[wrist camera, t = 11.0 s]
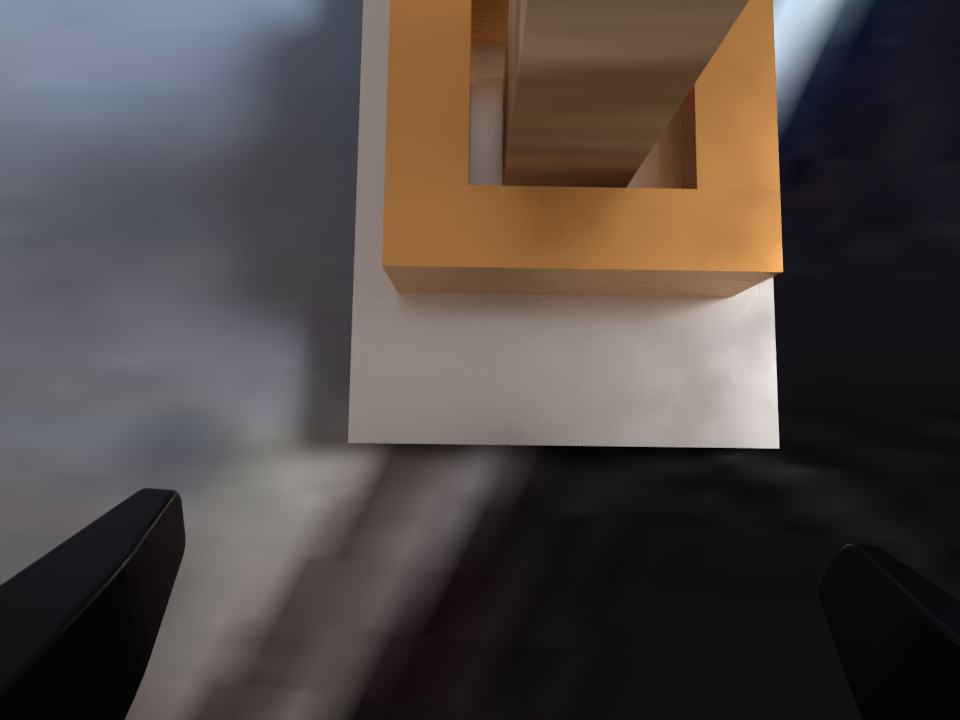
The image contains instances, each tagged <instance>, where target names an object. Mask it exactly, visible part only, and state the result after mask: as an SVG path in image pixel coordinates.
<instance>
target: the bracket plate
mask: <svg viewBox="0 0 960 720" xmlns="http://www.w3.org/2000/svg"><path fill="white" fill-rule="evenodd" d="M509 1H510V0H363V21H362V50H361V79H360V108H359V136H358V165H357V194H356V223H355V252H354V281H353V310H352V339H351V368H350V396H349V425H348V443H390V444H469V445H549V446H628V447H707V448H779V426H778V399H777V371H776V344H775V317H774V289H773V277H774V276H776V275H778V274H780V273H782V272H783V257H782V231H781V205H780V179H779V153H778V126H777V100H776V74H775V48H774V22H773V0H749V2H748V3H747V5H746V6H745V8H744V9H743V11H742V12H741V14H740V15H739V17H738V18H737V20H736V21H735V23H734V24H733V26H732V28H731V29H730V31H729V32H728V34H727V35H726V37H725V38H724V40H723V41H722V43H721V44H720V46H719V47H718V49H717V50H716V52H715V53H714V55H713V56H712V58H711V60H710V61H709V63H708V64H707V66H706V67H705V69H704V70H703V72H702V73H701V75H700V76H699V78H698V79H697V81H696V82H695V84H694V85H693V87H692V88H691V90H690V91H689V93H688V95H687V96H686V98H685V99H684V101H683V102H682V104H681V105H680V107H679V108H678V110H677V111H676V113H675V114H674V116H673V117H672V119H671V120H670V122H669V123H668V125H667V127H666V128H665V130H664V131H663V133H662V134H661V136H660V137H659V139H658V140H657V142H656V143H655V145H654V146H653V148H652V149H651V151H650V152H649V154H648V155H647V157H646V159H645V160H644V162H643V163H642V165H641V166H640V168H639V169H638V171H637V172H636V174H635V175H634V177H633V178H632V180H631V181H630V183H629V184H628V186H627V187H626V188H606V187H549V186H502V140H503V68H504V56H505V45H506V34H507V23H508V12H509Z"/></svg>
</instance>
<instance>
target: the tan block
mask: <svg viewBox="0 0 960 720" xmlns="http://www.w3.org/2000/svg"><path fill="white" fill-rule="evenodd" d="M748 2H749V0H510V1H509V12H508V23H507V34H506V45H505V56H504V68H503V140H502V186H549V187H606V188H626V187H627V186H628V184H629V183H630V181H631V180H632V178H633V177H634V175H635V174H636V172H637V171H638V169H639V168H640V166H641V165H642V163H643V162H644V160H645V159H646V157H647V155H648V154H649V152H650V151H651V149H652V148H653V146H654V145H655V143H656V142H657V140H658V139H659V137H660V136H661V134H662V133H663V131H664V130H665V128H666V127H667V125H668V123H669V122H670V120H671V119H672V117H673V116H674V114H675V113H676V111H677V110H678V108H679V107H680V105H681V104H682V102H683V101H684V99H685V98H686V96H687V95H688V93H689V91H690V90H691V88H692V87H693V85H694V84H695V82H696V81H697V79H698V78H699V76H700V75H701V73H702V72H703V70H704V69H705V67H706V66H707V64H708V63H709V61H710V60H711V58H712V56H713V55H714V53H715V52H716V50H717V49H718V47H719V46H720V44H721V43H722V41H723V40H724V38H725V37H726V35H727V34H728V32H729V31H730V29H731V28H732V26H733V24H734V23H735V21H736V20H737V18H738V17H739V15H740V14H741V12H742V11H743V9H744V8H745V6H746V5H747V3H748Z"/></svg>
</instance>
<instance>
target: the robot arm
mask: <svg viewBox="0 0 960 720" xmlns="http://www.w3.org/2000/svg"><path fill="white" fill-rule="evenodd" d="M184 549H185V528H184V519H183V510H182V501H181V497H180V495H179V493H178V492H177V491H175V490H167V489H154V488H145V489H142V490H139V491H138V492H136V493H135V494H133V495H132V496H130V497H129V498H127V499H126V500H124V501H123V502H121V503H120V504H119V505H117V506H116V507H114V508H113V509H111V510H110V511H108V512H107V513H105V514H104V515H102V516H101V517H100V518H98V519H97V520H95V521H94V522H92V523H91V524H89V525H88V526H86V527H85V528H84V529H82V530H81V531H79V532H78V533H76V534H75V535H73V536H72V537H70V538H69V539H67V540H66V541H65V542H63V543H62V544H60V545H59V546H57V547H56V548H54V549H53V550H51V551H50V552H48V553H47V554H46V555H44V556H43V557H41V558H40V559H38V560H37V561H35V562H34V563H32V564H31V565H29V566H28V567H27V568H25V569H24V570H22V571H21V572H19V573H18V574H16V575H15V576H13V577H12V578H11V579H9V580H8V581H6V582H5V583H3V584H2V585H0V720H125V718H126V715H127V713H128V711H129V709H130V707H131V704H132V702H133V700H134V698H135V695H136V693H137V690H138V688H139V686H140V683H141V681H142V679H143V676H144V673H145V670H146V668H147V665H148V662H149V659H150V656H151V653H152V650H153V647H154V644H155V641H156V638H157V635H158V632H159V628H160V625H161V622H162V619H163V616H164V613H165V610H166V607H167V604H168V601H169V598H170V595H171V592H172V589H173V585H174V582H175V579H176V576H177V573H178V570H179V567H180V564H181V561H182V558H183V554H184ZM819 597H820V601H821V604H822V607H823V610H824V613H825V616H826V619H827V621H828V624H829V627H830V630H831V633H832V636H833V639H834V642H835V644H836V647H837V650H838V653H839V656H840V659H841V662H842V665H843V668H844V670H845V673H846V676H847V679H848V682H849V685H850V688H851V691H852V693H853V696H854V699H855V701H856V704H857V707H858V709H859V711H860V714H861V716H862V719H863V720H960V601H958V600H957V599H956V598H954V597H953V596H951V595H950V594H948V593H947V592H945V591H944V590H942V589H941V588H939V587H938V586H936V585H935V584H933V583H932V582H930V581H929V580H927V579H926V578H924V577H923V576H921V575H920V574H918V573H917V572H915V571H914V570H912V569H911V568H910V567H908V566H907V565H905V564H904V563H902V562H901V561H899V560H898V559H896V558H895V557H893V556H892V555H890V554H889V553H887V552H886V551H884V550H883V549H881V548H879V547H877V546H873V545H864V544H847V545H845V546H843V547H842V548H841V549H840V551H839V552H838V554H837V555H836V557H835V559H834V560H833V562H832V564H831V565H830V567H829V568H828V570H827V572H826V573H825V575H824V576H823V578H822V580H821V582H820V585H819Z"/></svg>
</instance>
